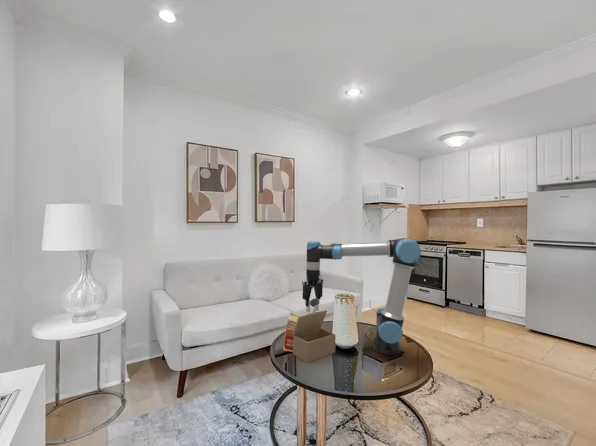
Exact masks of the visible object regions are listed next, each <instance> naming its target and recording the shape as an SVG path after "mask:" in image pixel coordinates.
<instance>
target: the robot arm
mask: <svg viewBox="0 0 596 446" xmlns="http://www.w3.org/2000/svg"><path fill="white" fill-rule="evenodd" d="M421 253H422V250H421V247H420V245H419V244H418V242H417V241H415V240H414V239H411V238H407V237H403V238H397V239H388V240H387V241H379V242H378V241H376V242H353V243H331V244H329V245H328V244H327V245H326V244H325V245H324V244H321V241H316V240H311V241H310V240H309V241H308V242H306V270H305V271H306V272H305V274H306V279H305V281H304V280H303V281H302V282H301V284H302V300H304V301H305V308H306V310H305V311H306V312H307V313H308V314H311V299H310V298H311V295H312V294H311V293H312V290H314V296H315V298H314V299H316V300H317V301H318V306H317V309H316V312H319V305H320V300H321V299H322V297H323V284H324V279H322V278H320V276H321V270H320V269H321V259H322V260H335V261H336V260H342V258H343V257H371V256H372V257H373V256H374V257H375V256H380V257H381V256H387V257H388V258H392V260H391V261H392V264H393V265H394V267H393V271H392V275H391V280H390V285H389V289H388V295H387V299H386V304H385V308H384V307H379V308H377V309H376V313H375V314H376V322H375V323H376V324H375V325H376V326H375V327H376V329H375V330H376V331H375V338H374V340H373V342H372V349H373V350H374V351H375V352H376V353H379V354H381V355H386V356H397V355H399V354H401V351H402V350H401V349H402V348H401V345H400V341H401V339H402V338H403V334H404V331H403V326H404V321H405V317H404V316H403V311H404V307H405V303H406V302H405V301H406V297H407V292H408V289H409V285H410V284H409V283H410V279H411V275H412V271H413V270H414V269H416V267H417V262H418V260H419V259H420V257H421Z"/></svg>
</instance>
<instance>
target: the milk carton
mask: <svg viewBox="0 0 596 446" xmlns="http://www.w3.org/2000/svg"><path fill="white" fill-rule="evenodd" d="M299 316H300V315H299V314H294V313H292V312H289V316H288V319H287V324H286V326H285V327H286V328H285V331H284V332H285V333H284V338H283V348H282V351H285V352H291V353H293V336H294V335H293V332H294V329H295V326H296V323H297V320H298V317H299ZM297 335H298V334H297Z"/></svg>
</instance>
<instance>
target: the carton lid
mask: <svg viewBox="0 0 596 446" xmlns="http://www.w3.org/2000/svg"><path fill="white" fill-rule="evenodd" d="M310 301H311V305H310V307H312V308H313V310H312V313H311V312H310V313H307V314H303V315H298V316H299V317H298V320H297V323H296V326H295V329H294V332H293V335H297V334H301V333H305V332H309V331H312V330H316V329H320V328H322V326H323V323H324V322H325V321H324V320H325V319H326V316H327V312H328V310H326V309H324V310H320V311H316V309H317V306H318V301H317V300H316V299H315V298H312V299H310Z"/></svg>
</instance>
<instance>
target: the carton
mask: <svg viewBox="0 0 596 446" xmlns="http://www.w3.org/2000/svg"><path fill="white" fill-rule="evenodd" d="M335 353H336V334H335V333H332V332H330V331H329V330H326V329H324V328H322V327H321V328H319V329H315V330H312V331H308V332H304V333H301V334H298V335H294V336H293V352H292V355H294V356H296V357H297V358H299V359H301V360H302V361H303V362H306V363H310V362H313V361H315V360H319V359H321V358H323V357H324V358H325V357H327V356H330V355H333V354H335Z"/></svg>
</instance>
